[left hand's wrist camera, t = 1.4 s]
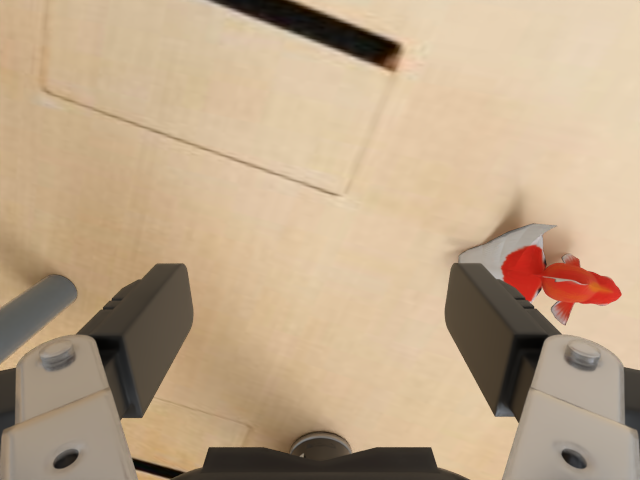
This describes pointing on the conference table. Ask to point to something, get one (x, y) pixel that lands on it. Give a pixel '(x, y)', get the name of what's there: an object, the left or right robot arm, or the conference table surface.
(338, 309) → the conference table surface
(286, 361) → the conference table surface
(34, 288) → the grey tall cylinder
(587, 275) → the fish
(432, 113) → the conference table surface
